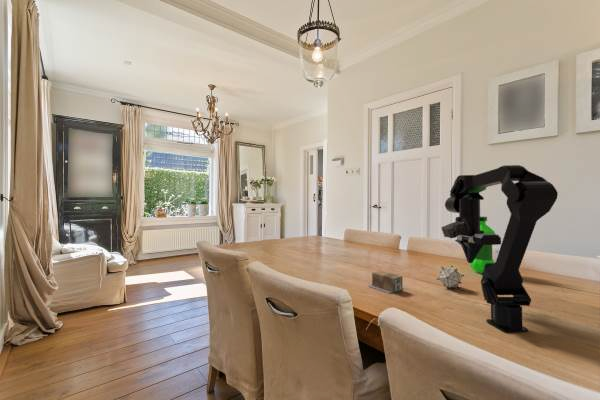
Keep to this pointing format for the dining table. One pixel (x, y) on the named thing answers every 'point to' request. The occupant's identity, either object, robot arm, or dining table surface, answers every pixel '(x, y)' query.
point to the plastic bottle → (483, 251)
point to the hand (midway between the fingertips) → (470, 262)
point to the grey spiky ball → (450, 277)
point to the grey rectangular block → (387, 281)
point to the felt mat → (380, 289)
